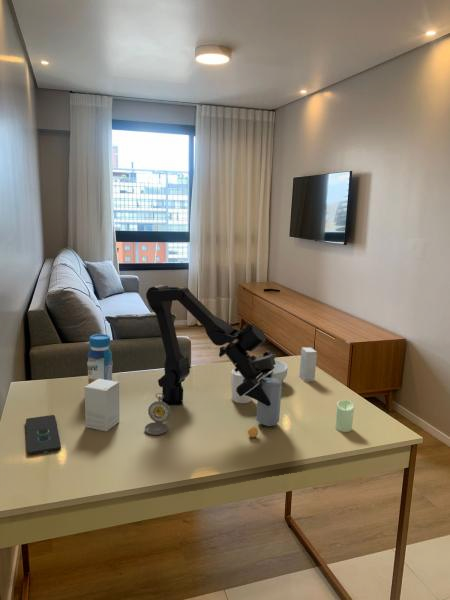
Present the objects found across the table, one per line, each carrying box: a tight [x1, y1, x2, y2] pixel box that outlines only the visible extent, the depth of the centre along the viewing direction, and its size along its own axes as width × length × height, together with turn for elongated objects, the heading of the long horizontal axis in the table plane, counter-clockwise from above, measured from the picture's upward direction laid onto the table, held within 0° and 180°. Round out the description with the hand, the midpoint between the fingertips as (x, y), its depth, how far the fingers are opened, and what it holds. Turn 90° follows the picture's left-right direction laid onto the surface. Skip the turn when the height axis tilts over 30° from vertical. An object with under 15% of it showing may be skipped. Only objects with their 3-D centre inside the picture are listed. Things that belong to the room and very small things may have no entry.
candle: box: [334, 399, 355, 433], centre depth 137 cm, size 5×5×8 cm
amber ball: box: [247, 426, 259, 438], centre depth 130 cm, size 3×3×3 cm
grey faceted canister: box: [256, 378, 283, 427], centre depth 137 cm, size 7×7×12 cm
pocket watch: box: [144, 392, 171, 436], centre depth 131 cm, size 8×8×10 cm
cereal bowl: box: [258, 359, 289, 382], centre depth 172 cm, size 17×17×7 cm
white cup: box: [230, 368, 253, 404], centre depth 155 cm, size 8×8×10 cm
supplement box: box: [83, 379, 121, 432], centre depth 132 cm, size 7×7×13 cm
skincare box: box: [298, 347, 318, 382], centre depth 177 cm, size 6×4×12 cm
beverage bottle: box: [86, 333, 114, 385], centre depth 154 cm, size 8×8×20 cm
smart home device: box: [25, 414, 62, 457], centre depth 125 cm, size 8×2×20 cm
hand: (273, 401), depth 136 cm, fingers closed on grey faceted canister, 6 cm apart
